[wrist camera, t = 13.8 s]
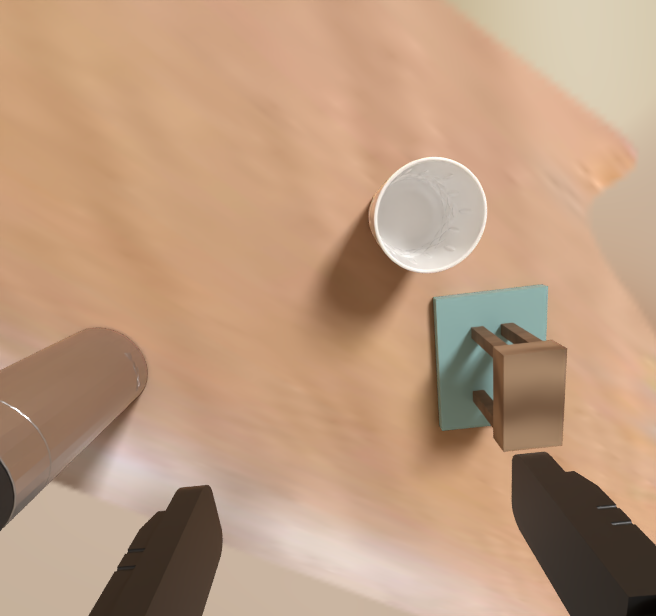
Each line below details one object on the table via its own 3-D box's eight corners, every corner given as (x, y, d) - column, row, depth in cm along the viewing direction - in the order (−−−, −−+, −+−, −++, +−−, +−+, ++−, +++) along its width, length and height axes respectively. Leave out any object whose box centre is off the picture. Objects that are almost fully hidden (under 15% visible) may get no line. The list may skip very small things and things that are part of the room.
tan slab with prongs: (467, 325, 37) (503, 355, 29) (517, 319, 37) (567, 348, 29) (469, 403, 39) (503, 451, 31) (516, 398, 39) (562, 445, 31)
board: (439, 425, 41) (442, 430, 40) (433, 297, 37) (435, 299, 36) (538, 415, 41) (543, 420, 40) (542, 284, 37) (548, 286, 36)
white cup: (445, 251, 36) (487, 266, 26) (365, 260, 36) (378, 279, 26) (442, 166, 34) (487, 150, 24) (358, 177, 34) (369, 164, 24)
